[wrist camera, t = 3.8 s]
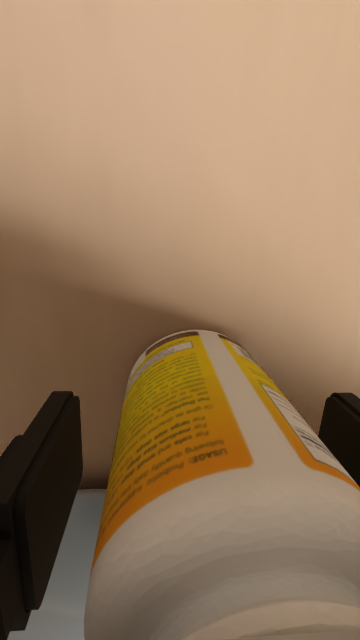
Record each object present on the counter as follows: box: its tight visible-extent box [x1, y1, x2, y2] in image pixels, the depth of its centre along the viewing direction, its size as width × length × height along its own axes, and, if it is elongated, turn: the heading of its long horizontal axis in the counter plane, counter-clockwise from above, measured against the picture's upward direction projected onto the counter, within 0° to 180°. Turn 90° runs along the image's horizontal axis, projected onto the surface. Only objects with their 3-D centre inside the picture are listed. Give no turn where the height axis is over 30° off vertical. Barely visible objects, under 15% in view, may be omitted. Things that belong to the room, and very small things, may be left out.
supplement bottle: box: [84, 330, 360, 640], centre depth 7 cm, size 6×6×10 cm
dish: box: [7, 489, 107, 640], centre depth 14 cm, size 12×12×1 cm
